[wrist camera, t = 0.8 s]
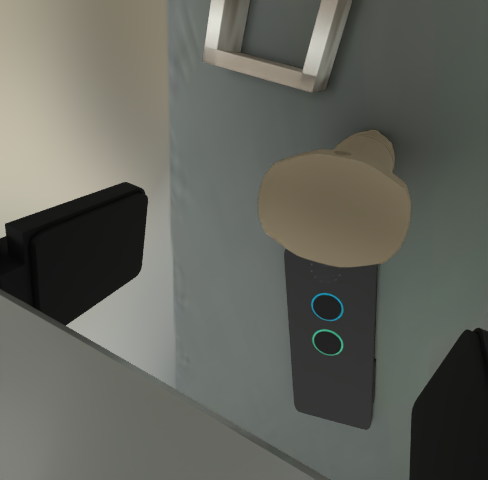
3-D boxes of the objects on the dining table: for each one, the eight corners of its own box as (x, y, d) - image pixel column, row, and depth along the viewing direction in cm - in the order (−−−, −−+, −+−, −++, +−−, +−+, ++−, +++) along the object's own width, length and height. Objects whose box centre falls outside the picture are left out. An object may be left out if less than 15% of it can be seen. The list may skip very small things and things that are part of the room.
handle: (406, 189, 28) (391, 282, 15) (324, 173, 30) (253, 244, 18) (425, 124, 26) (426, 171, 13) (335, 112, 28) (263, 144, 15)
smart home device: (378, 253, 29) (372, 432, 37) (380, 244, 31) (373, 419, 38) (281, 245, 33) (293, 411, 40) (287, 238, 34) (297, 399, 42)
